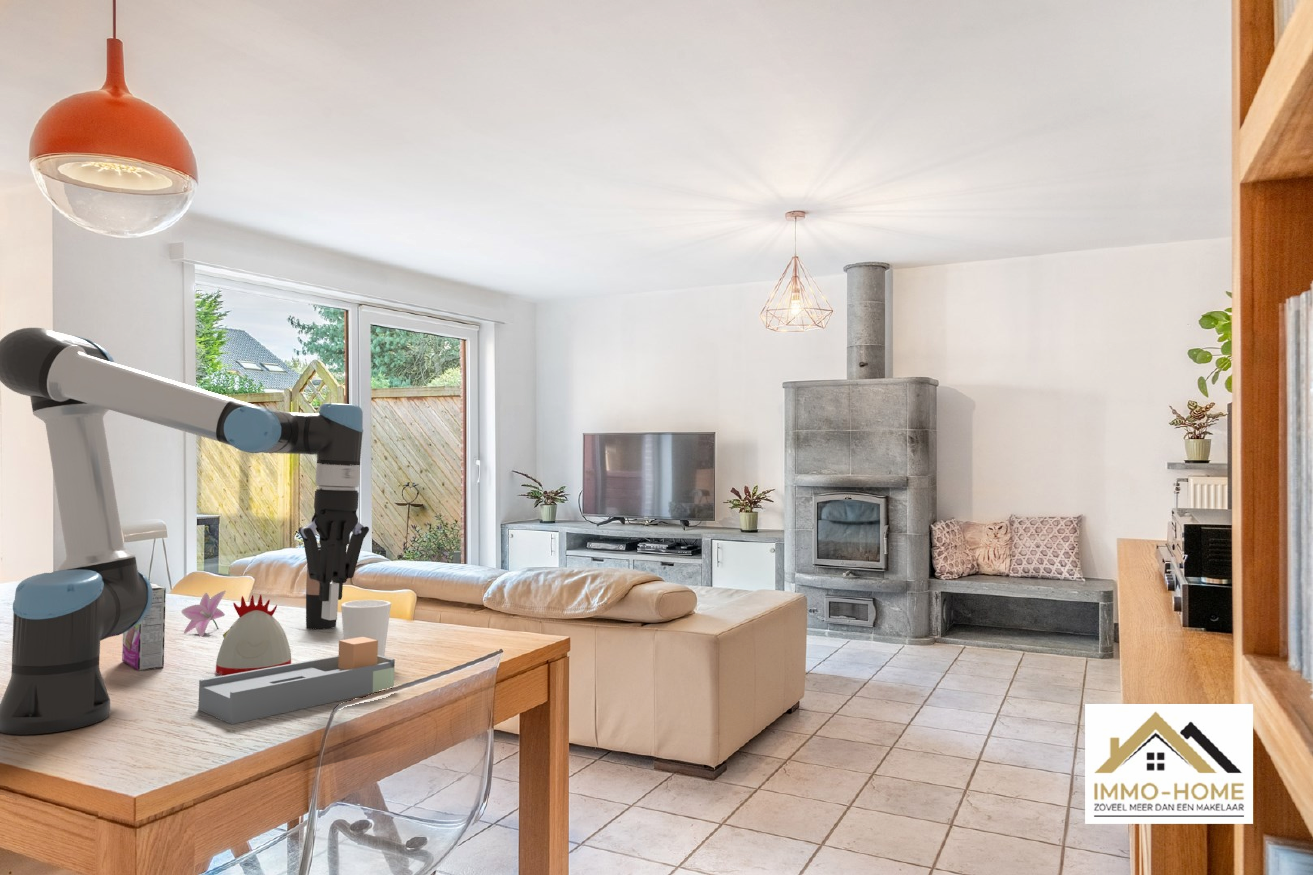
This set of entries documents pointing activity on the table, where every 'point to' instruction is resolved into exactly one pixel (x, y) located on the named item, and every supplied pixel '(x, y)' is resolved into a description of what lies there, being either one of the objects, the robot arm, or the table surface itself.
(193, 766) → the table surface
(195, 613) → the lily
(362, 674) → the box
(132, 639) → the candy bar box
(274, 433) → the robot arm
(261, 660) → the kitchen timer
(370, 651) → the block
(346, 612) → the cup
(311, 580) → the travel mug
